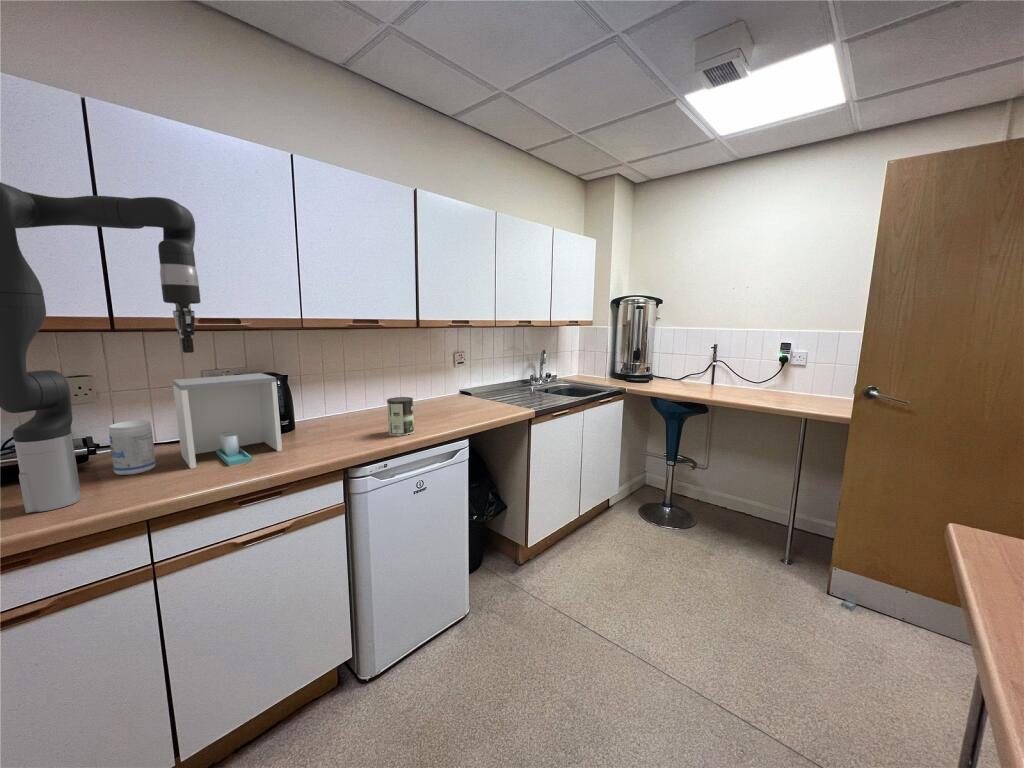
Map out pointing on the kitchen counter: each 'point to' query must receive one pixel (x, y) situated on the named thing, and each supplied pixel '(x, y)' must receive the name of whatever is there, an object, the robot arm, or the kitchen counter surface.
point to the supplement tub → (132, 447)
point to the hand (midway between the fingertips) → (188, 352)
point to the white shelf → (226, 412)
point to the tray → (234, 458)
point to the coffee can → (400, 416)
